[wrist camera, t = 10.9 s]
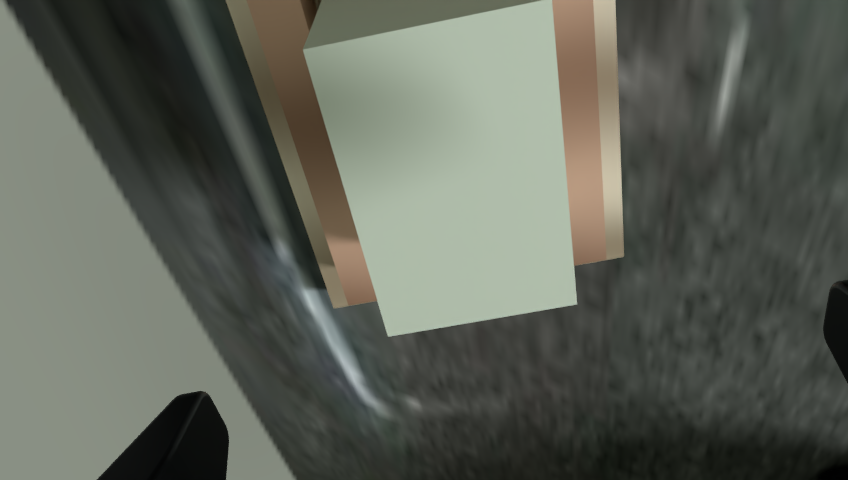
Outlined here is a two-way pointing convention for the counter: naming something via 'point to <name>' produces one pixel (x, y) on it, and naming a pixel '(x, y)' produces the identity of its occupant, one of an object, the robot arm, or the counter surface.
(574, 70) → the pink and beige box
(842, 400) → the counter surface
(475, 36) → the sage block
